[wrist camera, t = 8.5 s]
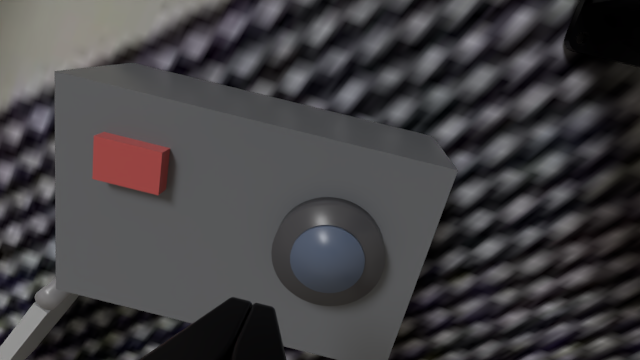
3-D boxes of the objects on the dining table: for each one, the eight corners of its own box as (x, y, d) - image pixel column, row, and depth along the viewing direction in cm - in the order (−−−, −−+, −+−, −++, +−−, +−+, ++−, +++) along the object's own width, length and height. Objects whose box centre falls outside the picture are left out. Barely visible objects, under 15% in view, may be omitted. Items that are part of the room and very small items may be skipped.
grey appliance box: (432, 136, 18) (465, 180, 12) (377, 300, 21) (383, 394, 16) (133, 62, 18) (31, 73, 13) (122, 236, 21) (37, 307, 16)
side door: (35, 352, 24) (-36, 421, 20) (14, 337, 24) (-63, 404, 20) (123, 246, 21) (62, 300, 17) (99, 228, 21) (31, 278, 17)
